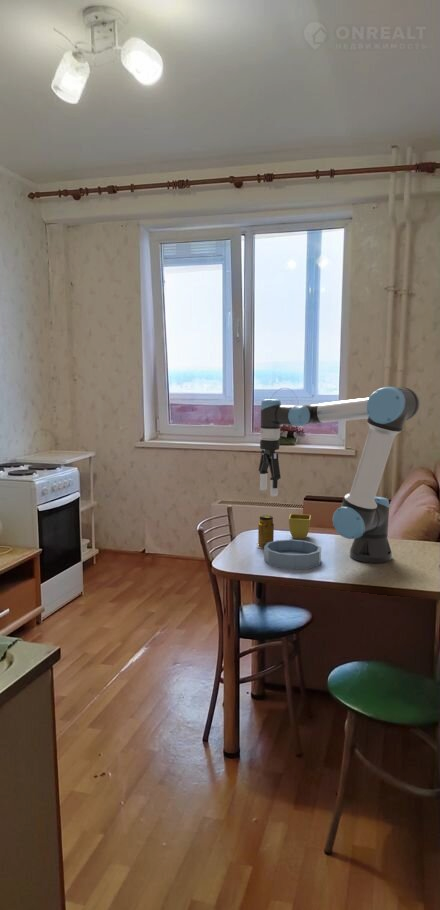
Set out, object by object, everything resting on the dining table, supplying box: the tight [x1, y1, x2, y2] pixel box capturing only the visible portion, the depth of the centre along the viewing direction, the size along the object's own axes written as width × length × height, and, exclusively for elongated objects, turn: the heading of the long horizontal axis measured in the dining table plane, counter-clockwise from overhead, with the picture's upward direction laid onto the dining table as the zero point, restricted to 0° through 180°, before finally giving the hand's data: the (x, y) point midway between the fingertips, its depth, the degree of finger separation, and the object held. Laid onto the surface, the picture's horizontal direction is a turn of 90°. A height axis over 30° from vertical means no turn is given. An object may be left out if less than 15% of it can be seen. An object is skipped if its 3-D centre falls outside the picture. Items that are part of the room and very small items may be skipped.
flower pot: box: [288, 513, 312, 540], centre depth 244 cm, size 9×9×9 cm
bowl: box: [263, 539, 322, 570], centre depth 212 cm, size 20×20×5 cm
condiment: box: [256, 514, 275, 549], centre depth 230 cm, size 7×8×12 cm
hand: (268, 493), depth 228 cm, fingers open, 13 cm apart
